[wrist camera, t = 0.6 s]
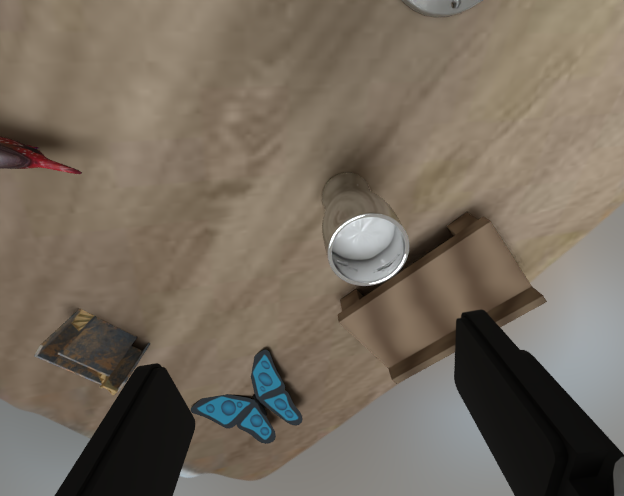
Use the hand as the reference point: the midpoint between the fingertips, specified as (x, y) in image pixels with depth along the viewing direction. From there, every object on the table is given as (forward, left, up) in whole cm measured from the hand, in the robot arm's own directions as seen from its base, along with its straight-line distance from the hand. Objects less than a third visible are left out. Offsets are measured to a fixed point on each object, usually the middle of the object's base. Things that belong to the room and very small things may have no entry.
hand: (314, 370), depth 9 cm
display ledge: (-2, +23, -29) cm, 37 cm away
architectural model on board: (+39, -2, -30) cm, 49 cm away
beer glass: (-2, +5, -29) cm, 30 cm away
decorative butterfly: (+34, +24, -29) cm, 51 cm away
